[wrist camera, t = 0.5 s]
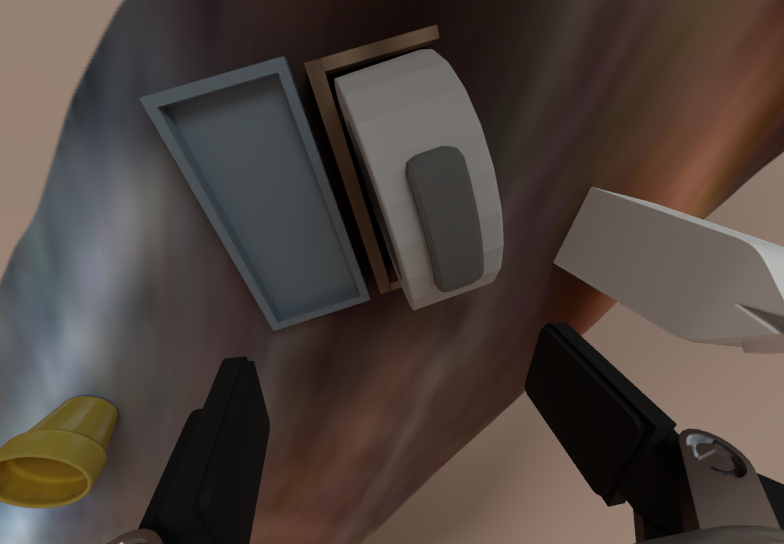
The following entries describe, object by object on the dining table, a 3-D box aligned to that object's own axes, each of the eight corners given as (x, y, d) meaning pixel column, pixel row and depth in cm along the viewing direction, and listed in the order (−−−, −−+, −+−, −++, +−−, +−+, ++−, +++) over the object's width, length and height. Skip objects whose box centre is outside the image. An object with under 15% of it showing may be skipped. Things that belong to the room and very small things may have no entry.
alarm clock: (332, 85, 32) (337, 58, 15) (401, 62, 32) (487, 7, 15) (391, 262, 42) (435, 368, 25) (443, 243, 42) (523, 336, 25)
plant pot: (128, 441, 48) (85, 513, 40) (42, 430, 44) (-26, 507, 36) (140, 393, 45) (96, 461, 36) (48, 378, 41) (-25, 449, 32)
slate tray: (287, 60, 30) (283, 56, 28) (367, 288, 43) (370, 300, 41) (155, 98, 30) (138, 97, 27) (276, 317, 43) (273, 331, 40)
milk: (655, 203, 46) (979, 297, 23) (614, 273, 51) (849, 407, 28) (591, 186, 43) (892, 275, 20) (553, 262, 47) (761, 404, 25)
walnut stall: (424, 33, 31) (437, 24, 28) (460, 252, 43) (472, 264, 40) (306, 68, 31) (304, 63, 27) (376, 279, 43) (380, 294, 40)
